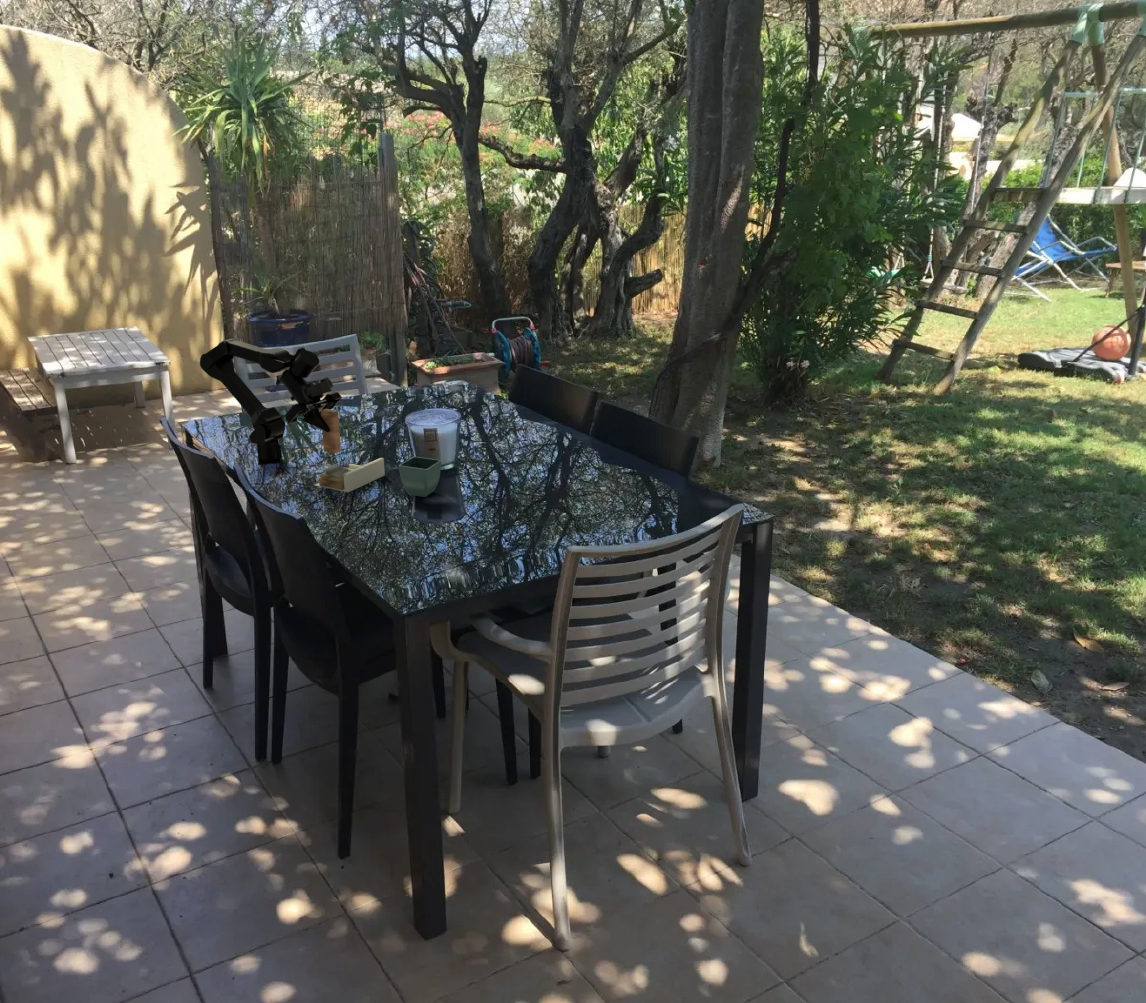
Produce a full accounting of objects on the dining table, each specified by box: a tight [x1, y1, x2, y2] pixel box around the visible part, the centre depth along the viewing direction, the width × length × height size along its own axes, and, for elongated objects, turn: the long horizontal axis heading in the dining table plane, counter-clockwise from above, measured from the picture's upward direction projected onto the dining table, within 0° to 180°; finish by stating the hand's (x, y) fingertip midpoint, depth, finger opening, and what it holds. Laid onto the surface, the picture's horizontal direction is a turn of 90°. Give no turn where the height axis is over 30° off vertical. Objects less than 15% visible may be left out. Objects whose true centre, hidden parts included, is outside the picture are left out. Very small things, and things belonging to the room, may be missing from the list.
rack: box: [314, 457, 386, 493], centre depth 276 cm, size 12×16×6 cm
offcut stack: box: [318, 465, 348, 491], centre depth 272 cm, size 8×5×5 cm, turn 63°
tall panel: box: [321, 409, 342, 454], centre depth 281 cm, size 4×2×12 cm, turn 63°
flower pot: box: [398, 456, 442, 498], centre depth 269 cm, size 9×9×9 cm
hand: (331, 430), depth 280 cm, fingers closed on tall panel, 2 cm apart
